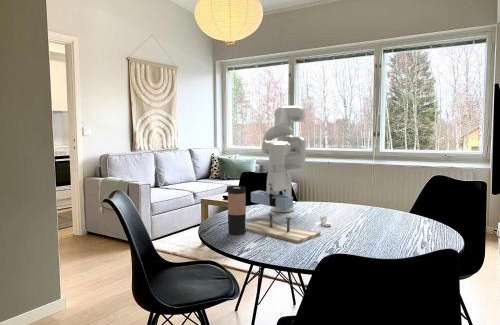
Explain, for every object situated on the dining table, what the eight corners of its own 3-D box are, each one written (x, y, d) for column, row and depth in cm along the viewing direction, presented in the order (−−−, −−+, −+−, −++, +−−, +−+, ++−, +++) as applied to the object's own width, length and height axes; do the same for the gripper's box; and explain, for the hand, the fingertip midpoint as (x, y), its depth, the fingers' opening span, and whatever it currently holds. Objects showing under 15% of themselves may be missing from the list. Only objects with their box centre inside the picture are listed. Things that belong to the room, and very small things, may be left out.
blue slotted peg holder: (258, 199, 200) (258, 190, 199) (292, 206, 185) (293, 196, 184) (250, 201, 196) (250, 192, 195) (285, 209, 181) (285, 199, 180)
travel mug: (224, 232, 165) (224, 186, 163) (238, 229, 170) (238, 185, 168) (235, 236, 159) (235, 188, 158) (249, 233, 164) (249, 187, 163)
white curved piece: (332, 228, 175) (332, 219, 175) (314, 227, 176) (314, 218, 176) (332, 223, 183) (332, 215, 183) (315, 222, 185) (315, 214, 185)
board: (263, 222, 184) (263, 207, 183) (320, 234, 162) (320, 218, 161) (239, 228, 172) (239, 212, 171) (298, 243, 150) (298, 225, 150)
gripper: (281, 165, 194) (281, 200, 197) (259, 169, 181) (259, 206, 184) (293, 166, 189) (293, 202, 192) (271, 171, 176) (271, 209, 179)
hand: (276, 204), depth 188 cm, fingers closed on blue slotted peg holder, 6 cm apart
